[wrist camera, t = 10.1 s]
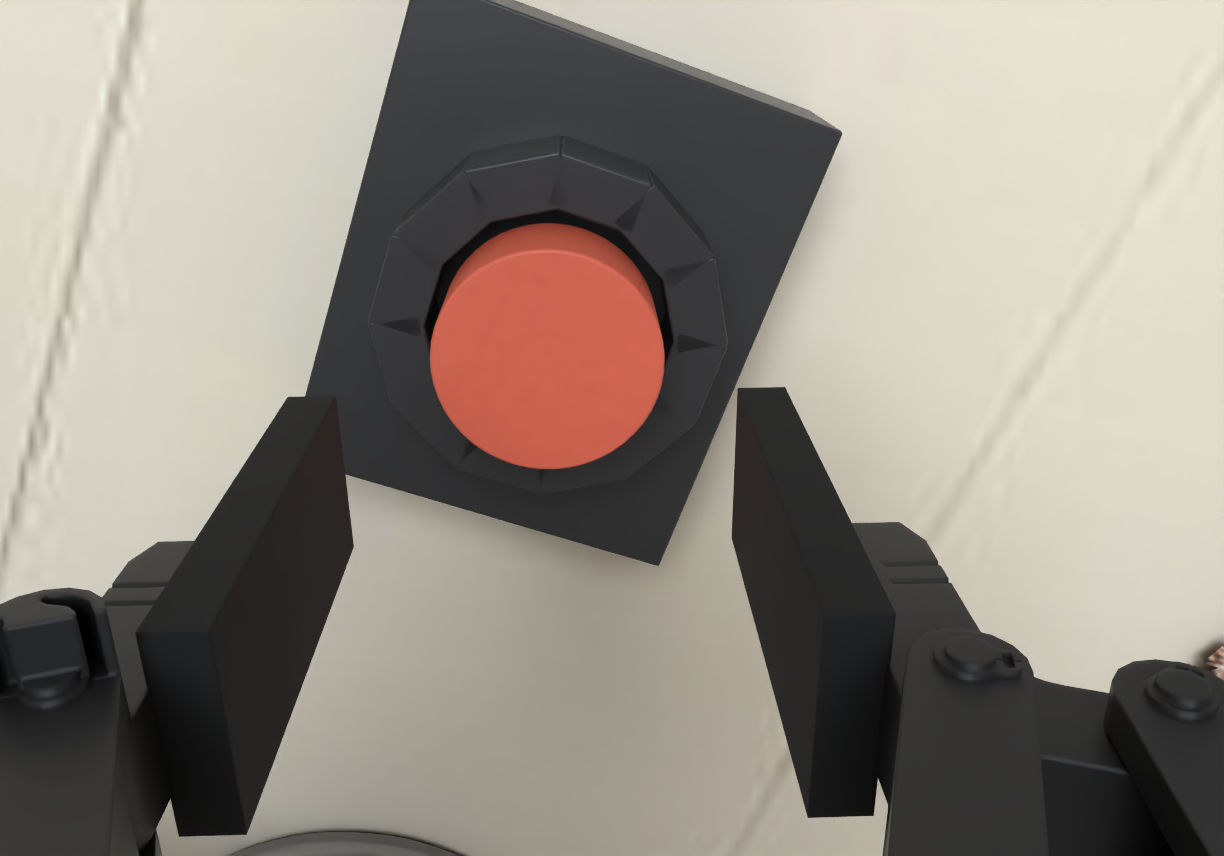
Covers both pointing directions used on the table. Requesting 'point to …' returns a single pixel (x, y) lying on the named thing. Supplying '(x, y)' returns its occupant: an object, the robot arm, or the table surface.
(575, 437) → the red push button
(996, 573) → the table surface
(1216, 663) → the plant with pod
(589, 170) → the button base
